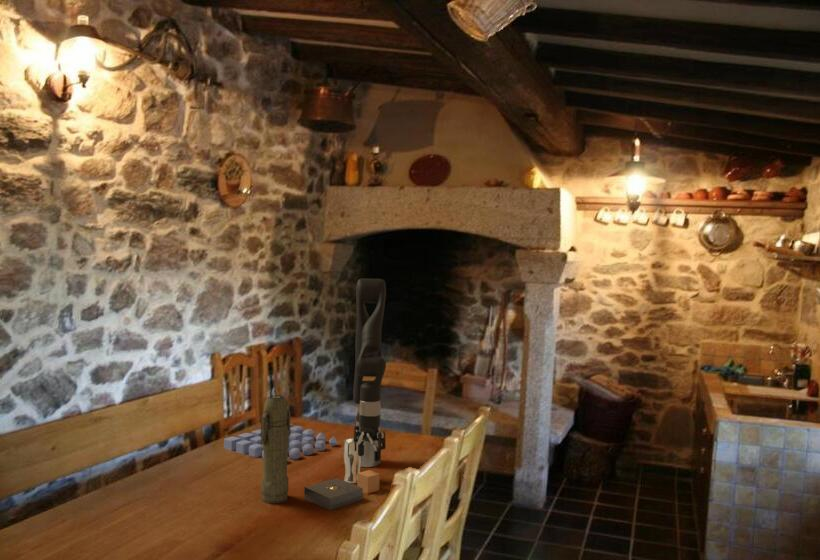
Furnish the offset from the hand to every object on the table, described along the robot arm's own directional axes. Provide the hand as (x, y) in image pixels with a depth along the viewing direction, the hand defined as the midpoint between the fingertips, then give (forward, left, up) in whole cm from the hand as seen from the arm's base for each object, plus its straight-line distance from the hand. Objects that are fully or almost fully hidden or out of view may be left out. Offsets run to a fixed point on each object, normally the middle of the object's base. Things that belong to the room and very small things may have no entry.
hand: (369, 458), depth 247 cm
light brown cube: (0, 0, -12) cm, 12 cm away
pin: (+15, -1, -11) cm, 18 cm away
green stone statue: (+29, -15, -12) cm, 35 cm away
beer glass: (-2, -11, -12) cm, 16 cm away
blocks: (-7, -62, -12) cm, 64 cm away
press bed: (+15, -1, -11) cm, 19 cm away
